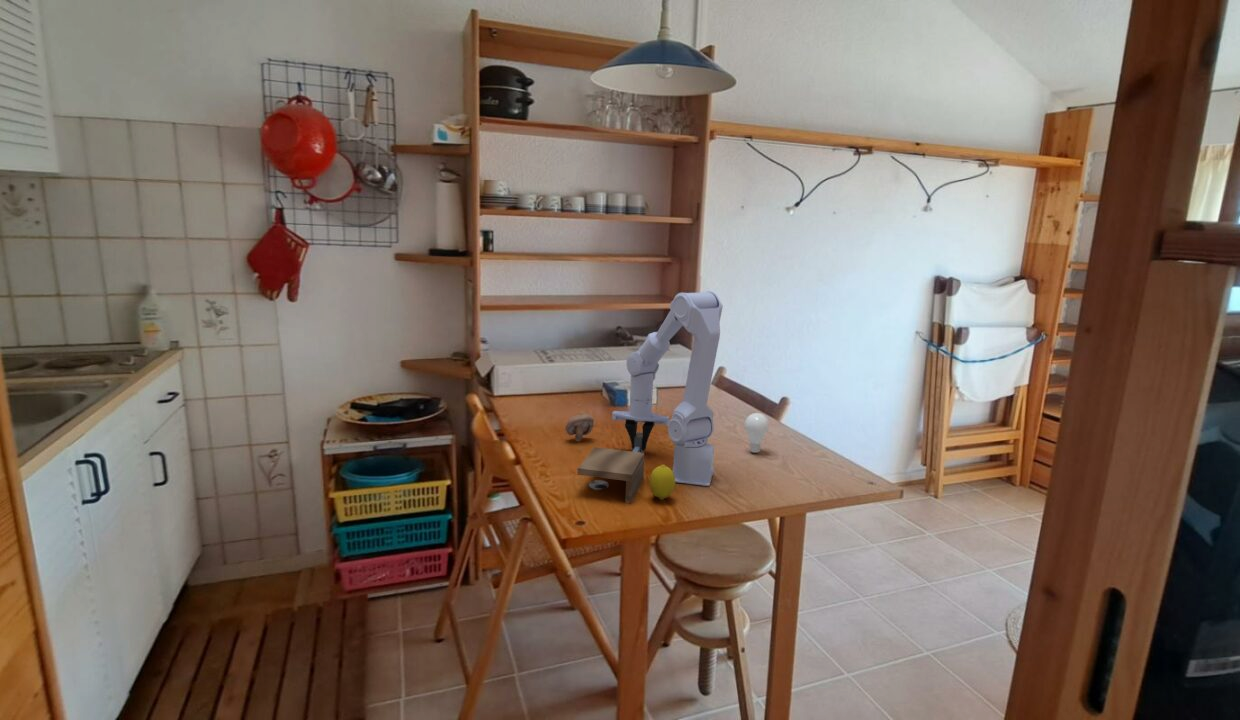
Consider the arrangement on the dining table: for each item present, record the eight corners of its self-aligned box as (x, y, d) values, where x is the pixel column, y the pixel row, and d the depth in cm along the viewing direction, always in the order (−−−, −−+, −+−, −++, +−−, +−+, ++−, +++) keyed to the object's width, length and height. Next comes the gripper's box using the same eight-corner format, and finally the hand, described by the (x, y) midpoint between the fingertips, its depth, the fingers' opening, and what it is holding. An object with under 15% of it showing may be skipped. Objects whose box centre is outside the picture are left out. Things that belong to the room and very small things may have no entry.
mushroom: (563, 444, 173) (564, 415, 171) (567, 436, 179) (567, 409, 177) (591, 445, 172) (592, 417, 170) (594, 438, 178) (595, 410, 176)
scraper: (644, 451, 169) (645, 433, 168) (627, 479, 150) (628, 458, 149) (636, 450, 170) (637, 432, 169) (619, 478, 151) (620, 458, 150)
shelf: (643, 479, 151) (644, 452, 149) (630, 503, 137) (632, 474, 136) (594, 473, 153) (594, 447, 152) (577, 496, 140) (577, 468, 138)
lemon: (644, 495, 141) (646, 461, 140) (667, 493, 143) (669, 459, 142) (655, 506, 136) (656, 470, 135) (678, 503, 138) (680, 468, 137)
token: (610, 484, 148) (610, 481, 147) (605, 492, 143) (605, 488, 143) (591, 482, 148) (592, 479, 148) (586, 489, 144) (586, 486, 144)
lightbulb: (769, 457, 168) (773, 417, 166) (746, 457, 168) (749, 416, 165) (762, 448, 174) (766, 410, 172) (739, 448, 174) (742, 409, 172)
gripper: (671, 396, 167) (668, 446, 169) (617, 391, 170) (615, 440, 173) (667, 403, 160) (664, 455, 163) (610, 398, 163) (609, 449, 166)
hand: (639, 448), depth 167 cm, fingers closed on scraper, 2 cm apart
